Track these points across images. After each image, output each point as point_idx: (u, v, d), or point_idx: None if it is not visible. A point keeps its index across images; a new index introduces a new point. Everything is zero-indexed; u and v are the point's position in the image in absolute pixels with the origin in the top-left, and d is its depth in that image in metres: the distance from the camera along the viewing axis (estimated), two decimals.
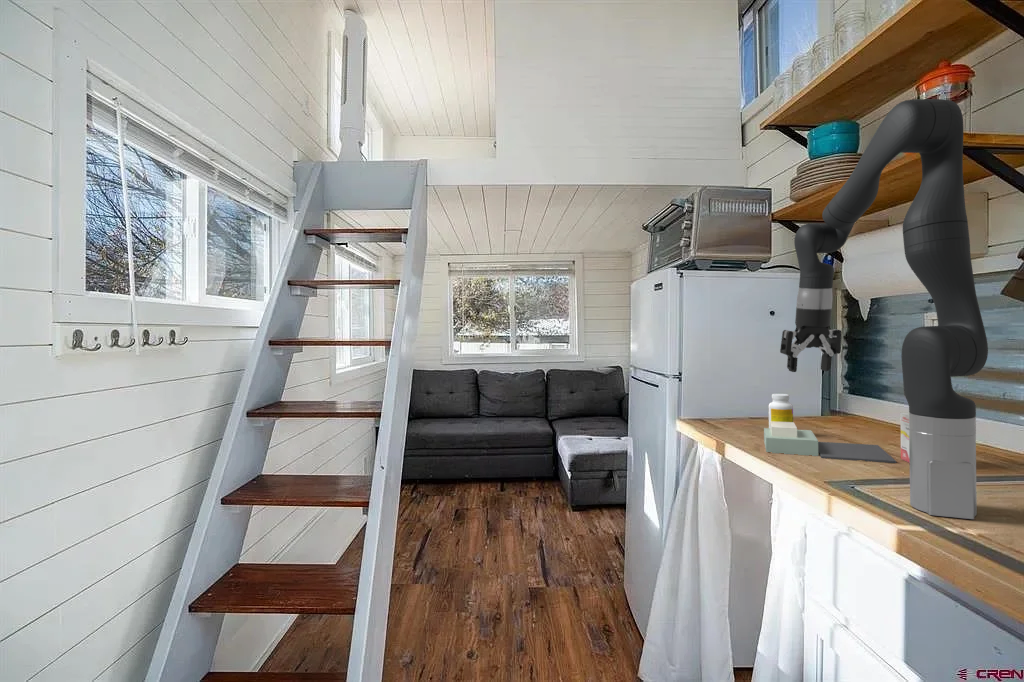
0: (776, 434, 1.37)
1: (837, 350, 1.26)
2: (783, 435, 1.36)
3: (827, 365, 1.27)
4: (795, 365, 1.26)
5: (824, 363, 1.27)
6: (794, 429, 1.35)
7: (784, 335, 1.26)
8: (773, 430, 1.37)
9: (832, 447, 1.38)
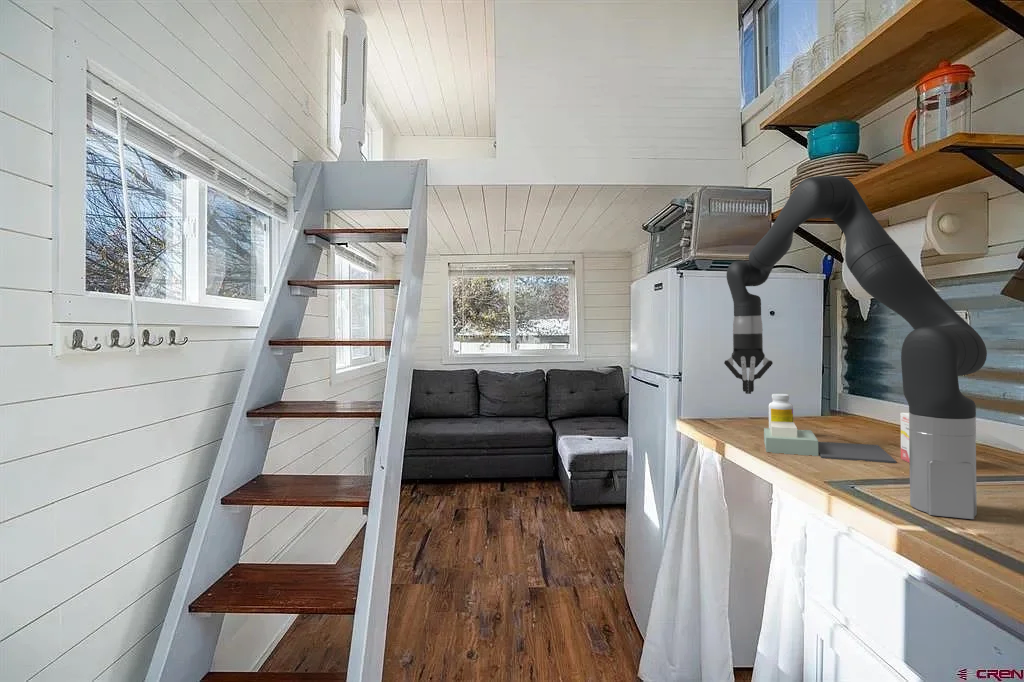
0: (776, 434, 1.37)
1: (757, 375, 1.42)
2: (783, 435, 1.36)
3: (749, 388, 1.43)
4: (746, 387, 1.43)
5: None
6: (794, 429, 1.35)
7: None
8: (773, 430, 1.37)
9: (832, 447, 1.38)
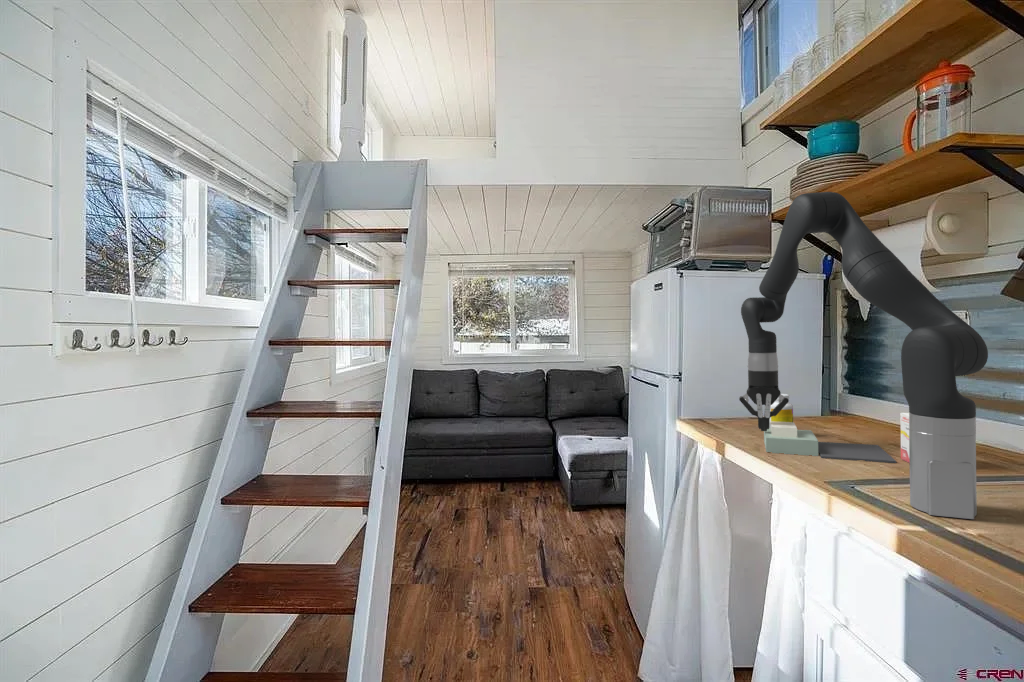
0: (776, 434, 1.37)
1: (773, 412, 1.40)
2: (783, 435, 1.36)
3: (764, 426, 1.41)
4: (762, 425, 1.41)
5: None
6: (794, 429, 1.35)
7: None
8: (773, 430, 1.37)
9: (832, 447, 1.38)
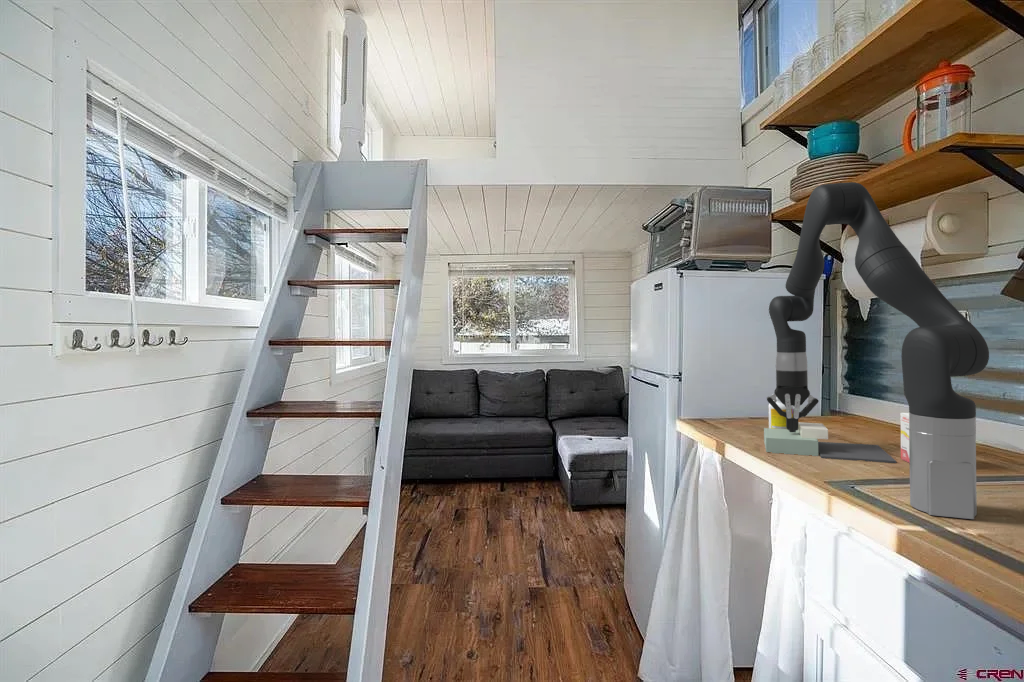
0: (806, 435, 1.34)
1: (802, 413, 1.37)
2: (813, 437, 1.34)
3: (793, 427, 1.38)
4: (790, 426, 1.38)
5: None
6: (825, 431, 1.33)
7: None
8: (803, 431, 1.35)
9: (832, 447, 1.38)
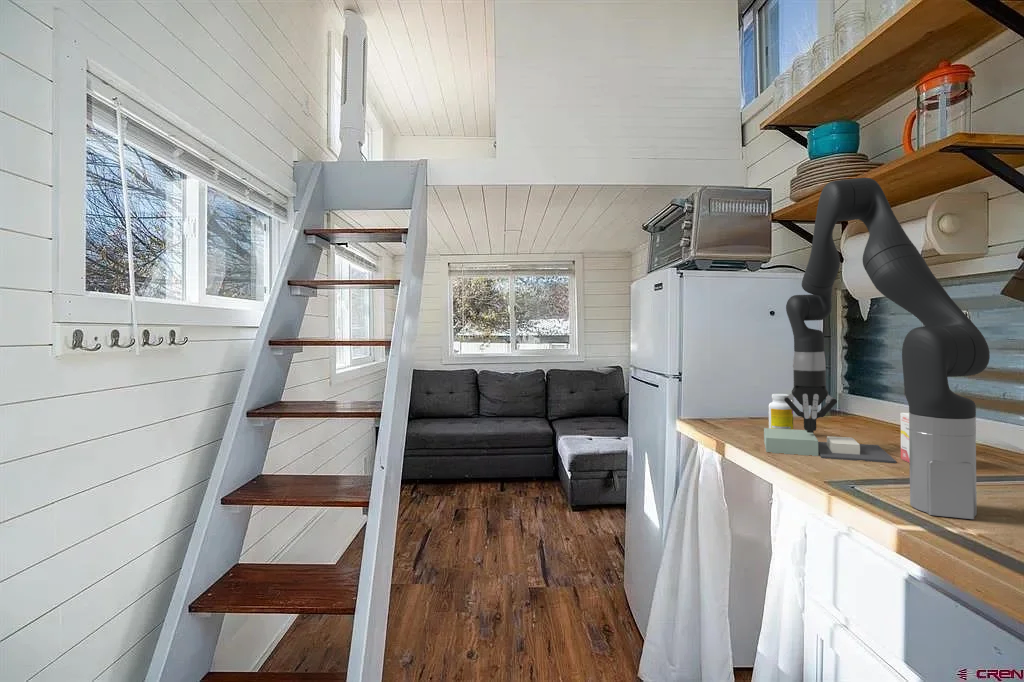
0: (854, 446, 1.30)
1: (820, 413, 1.36)
2: (847, 445, 1.31)
3: (811, 427, 1.37)
4: (808, 426, 1.37)
5: None
6: (835, 451, 1.32)
7: None
8: (858, 450, 1.30)
9: None
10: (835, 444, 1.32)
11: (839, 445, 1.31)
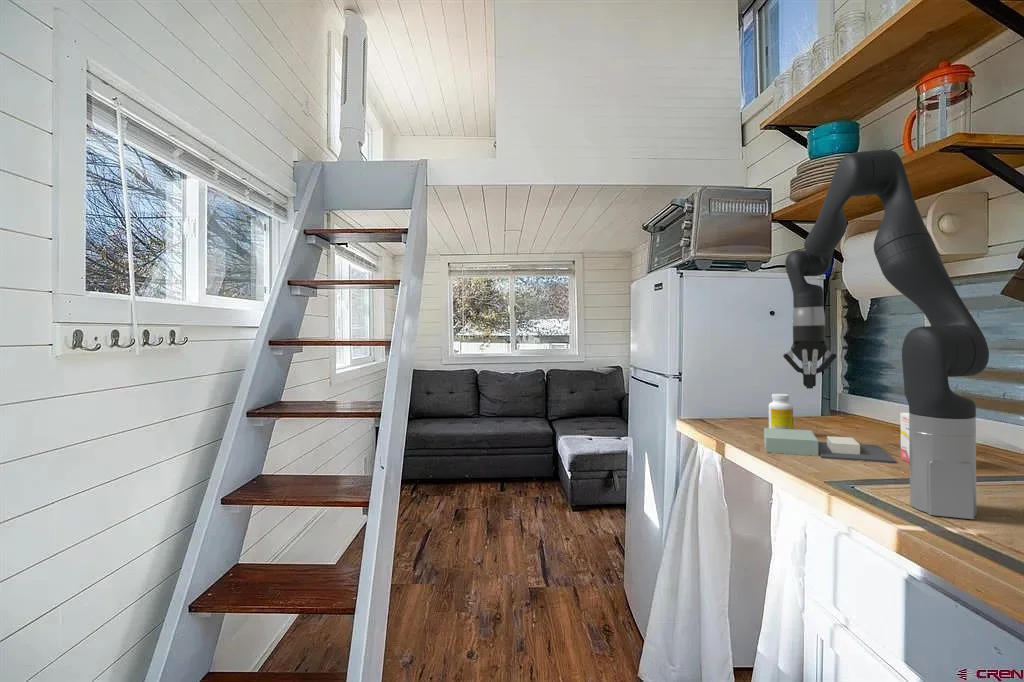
0: (854, 446, 1.30)
1: (819, 369, 1.35)
2: (847, 445, 1.31)
3: (810, 383, 1.36)
4: (808, 382, 1.37)
5: None
6: (835, 451, 1.32)
7: None
8: (858, 450, 1.30)
9: None
10: (835, 444, 1.32)
11: (839, 445, 1.31)
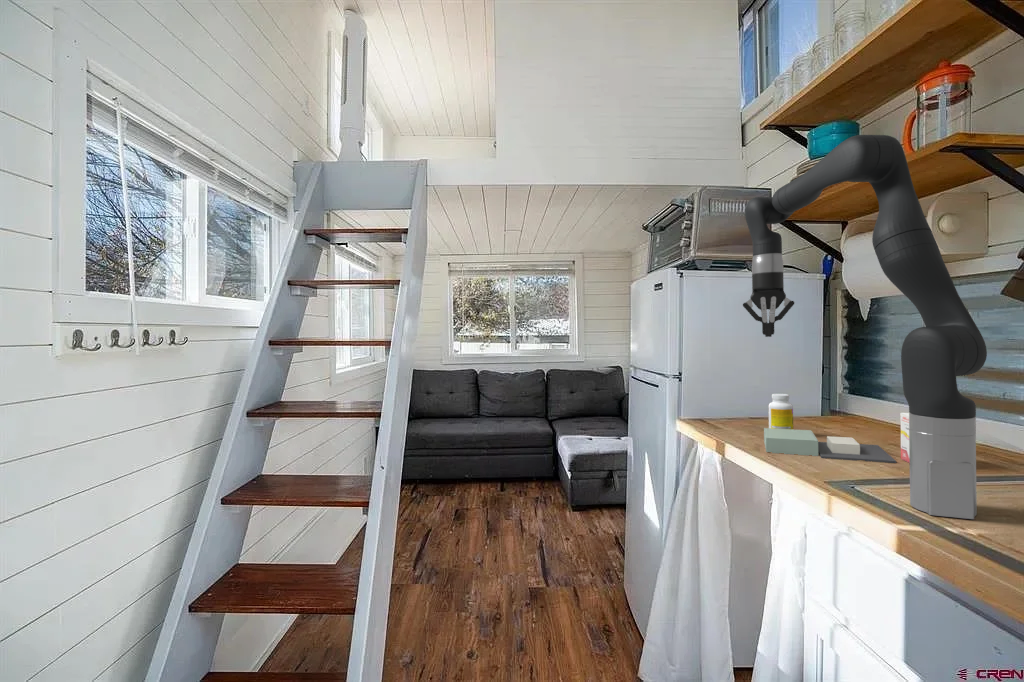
0: (854, 446, 1.30)
1: (778, 316, 1.35)
2: (847, 445, 1.31)
3: (769, 331, 1.36)
4: (766, 330, 1.36)
5: (768, 329, 1.37)
6: (835, 451, 1.32)
7: None
8: (858, 450, 1.30)
9: None
10: (835, 444, 1.32)
11: (839, 445, 1.31)
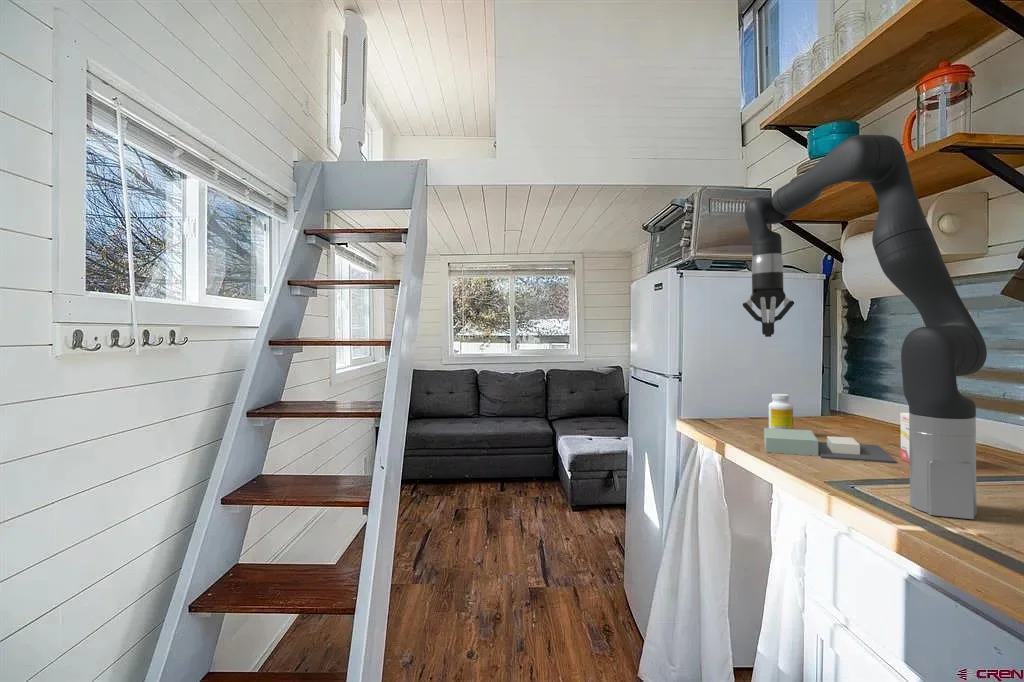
0: (854, 446, 1.30)
1: (778, 316, 1.35)
2: (847, 445, 1.31)
3: (769, 331, 1.36)
4: (766, 330, 1.36)
5: None
6: (835, 451, 1.32)
7: None
8: (858, 450, 1.30)
9: None
10: (835, 444, 1.32)
11: (839, 445, 1.31)
